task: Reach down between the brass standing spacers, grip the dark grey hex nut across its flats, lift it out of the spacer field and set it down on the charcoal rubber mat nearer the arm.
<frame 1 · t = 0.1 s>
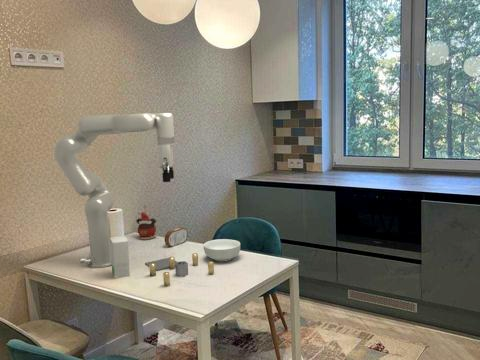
hand: (168, 180, 206), 37 cm above the table, tool pointing down, fingers open, 9 cm apart
tin: (177, 244, 239), on the table
skincare box: (121, 274, 197), on the table
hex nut: (182, 274, 194), on the table
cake: (147, 238, 253), on the table
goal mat: (163, 264, 208), on the table
spacer field: (182, 274, 194), on the table
cereal bowl: (222, 259, 213), on the table
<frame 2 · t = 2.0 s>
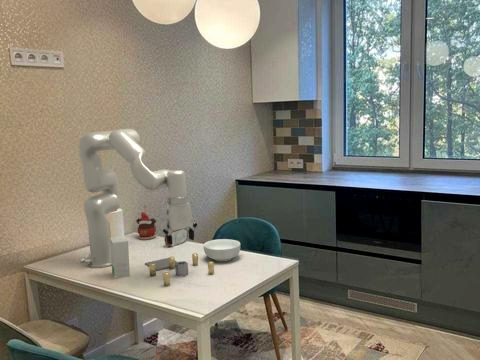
hand: (181, 241, 192), 14 cm above the table, tool pointing down, fingers open, 9 cm apart
nothing on the table moved.
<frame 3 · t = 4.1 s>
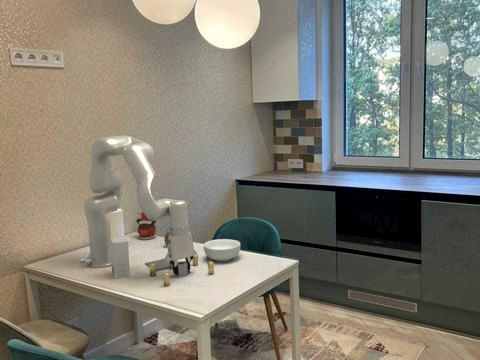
hand: (182, 272, 194), 1 cm above the table, tool pointing down, fingers closed on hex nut, 4 cm apart
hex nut: (182, 274, 194), on the table, touching gripper
everything else where it was.
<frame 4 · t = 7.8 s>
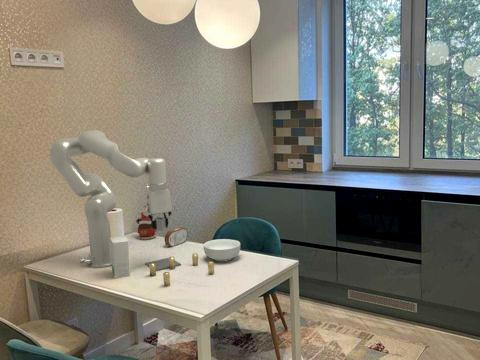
hand: (160, 227, 205), 17 cm above the table, tool pointing down, fingers closed on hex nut, 4 cm apart
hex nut: (160, 229, 205), point 16 cm above the table, touching gripper
everything else where it was.
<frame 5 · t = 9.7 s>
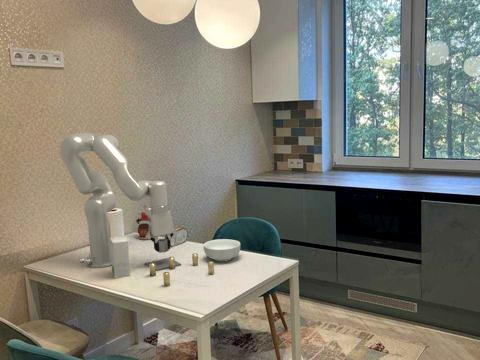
hand: (162, 249, 206), 7 cm above the table, tool pointing down, fingers closed on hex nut, 4 cm apart
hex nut: (162, 250, 207), point 6 cm above the table, touching gripper
everything else where it was.
when the fingers open (3 cm above the table, at t = 11.3 s): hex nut drops 1 cm, resting on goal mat.
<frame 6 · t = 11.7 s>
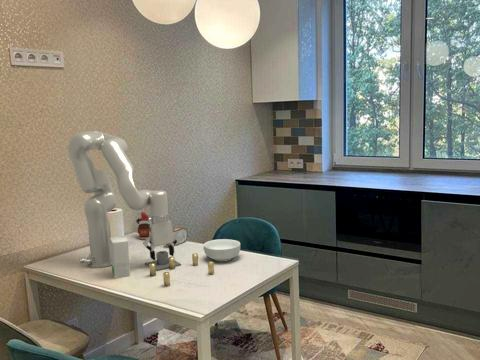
hand: (162, 257, 207), 4 cm above the table, tool pointing down, fingers open, 8 cm apart
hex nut: (162, 263, 208), point 1 cm above the table, touching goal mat
everything else where it was.
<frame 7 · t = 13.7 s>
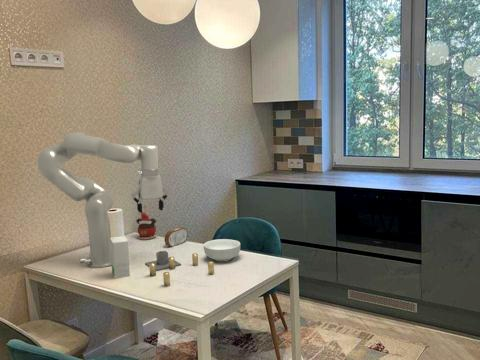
hand: (150, 210, 209), 24 cm above the table, tool pointing down, fingers open, 9 cm apart
nothing on the table moved.
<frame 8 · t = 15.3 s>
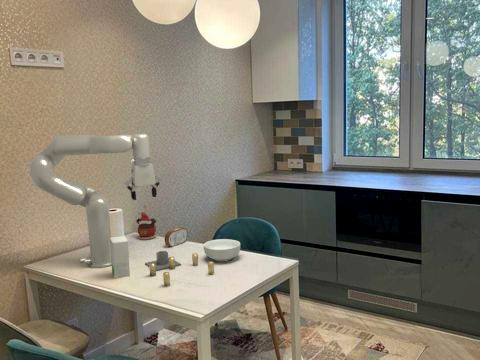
hand: (144, 198, 214), 28 cm above the table, tool pointing down, fingers open, 9 cm apart
nothing on the table moved.
at the end: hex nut inside the target area on the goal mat (0.1 cm from its centre), point 0.6 cm above the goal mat's base; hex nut tilted 0°; the gripper is holding nothing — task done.
